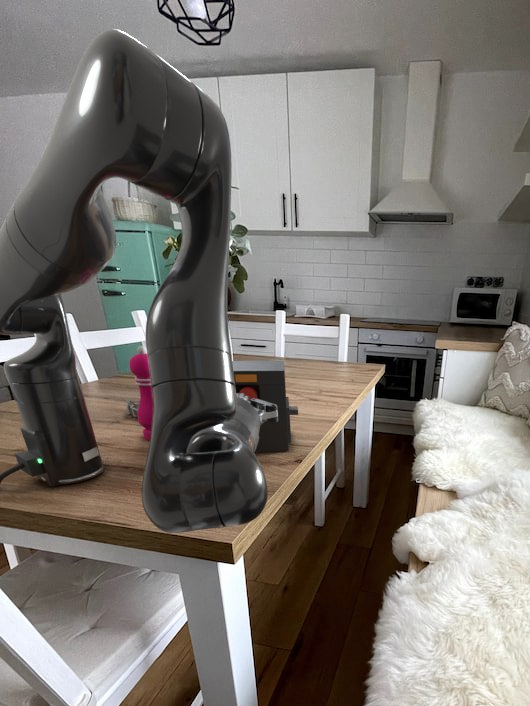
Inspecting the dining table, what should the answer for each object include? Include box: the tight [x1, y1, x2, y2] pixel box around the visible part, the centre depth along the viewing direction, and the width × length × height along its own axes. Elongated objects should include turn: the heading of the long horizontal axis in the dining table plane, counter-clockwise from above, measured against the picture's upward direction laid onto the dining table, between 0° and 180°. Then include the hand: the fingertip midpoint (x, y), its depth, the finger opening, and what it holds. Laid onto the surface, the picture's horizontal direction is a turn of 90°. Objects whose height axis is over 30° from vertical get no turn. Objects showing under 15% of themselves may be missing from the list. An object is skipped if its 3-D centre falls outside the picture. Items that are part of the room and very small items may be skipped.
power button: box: [239, 386, 257, 401], centre depth 78 cm, size 4×2×4 cm, turn 101°
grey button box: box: [232, 360, 299, 453], centre depth 86 cm, size 18×13×17 cm
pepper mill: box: [128, 345, 153, 441], centre depth 87 cm, size 7×7×20 cm
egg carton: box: [123, 398, 140, 418], centre depth 106 cm, size 11×8×4 cm
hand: (240, 399), depth 66 cm, fingers closed
